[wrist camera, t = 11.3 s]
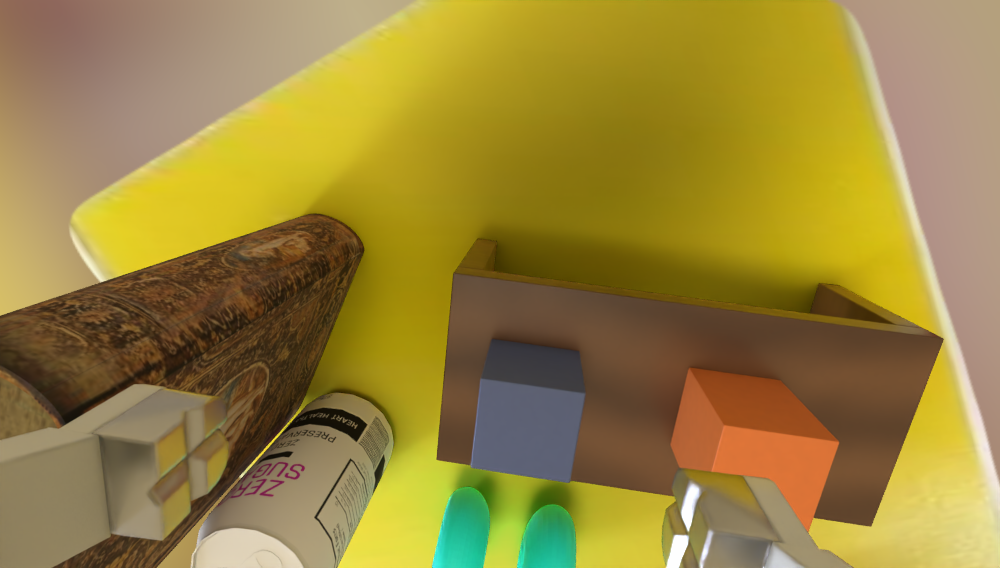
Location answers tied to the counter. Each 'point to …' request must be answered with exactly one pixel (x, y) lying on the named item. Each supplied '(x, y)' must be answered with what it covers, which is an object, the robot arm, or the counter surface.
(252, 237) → the book
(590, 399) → the shelf
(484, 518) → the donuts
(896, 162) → the counter surface
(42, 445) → the robot arm
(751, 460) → the orange box
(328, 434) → the supplement can
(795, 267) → the counter surface
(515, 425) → the slate-blue box
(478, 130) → the counter surface
